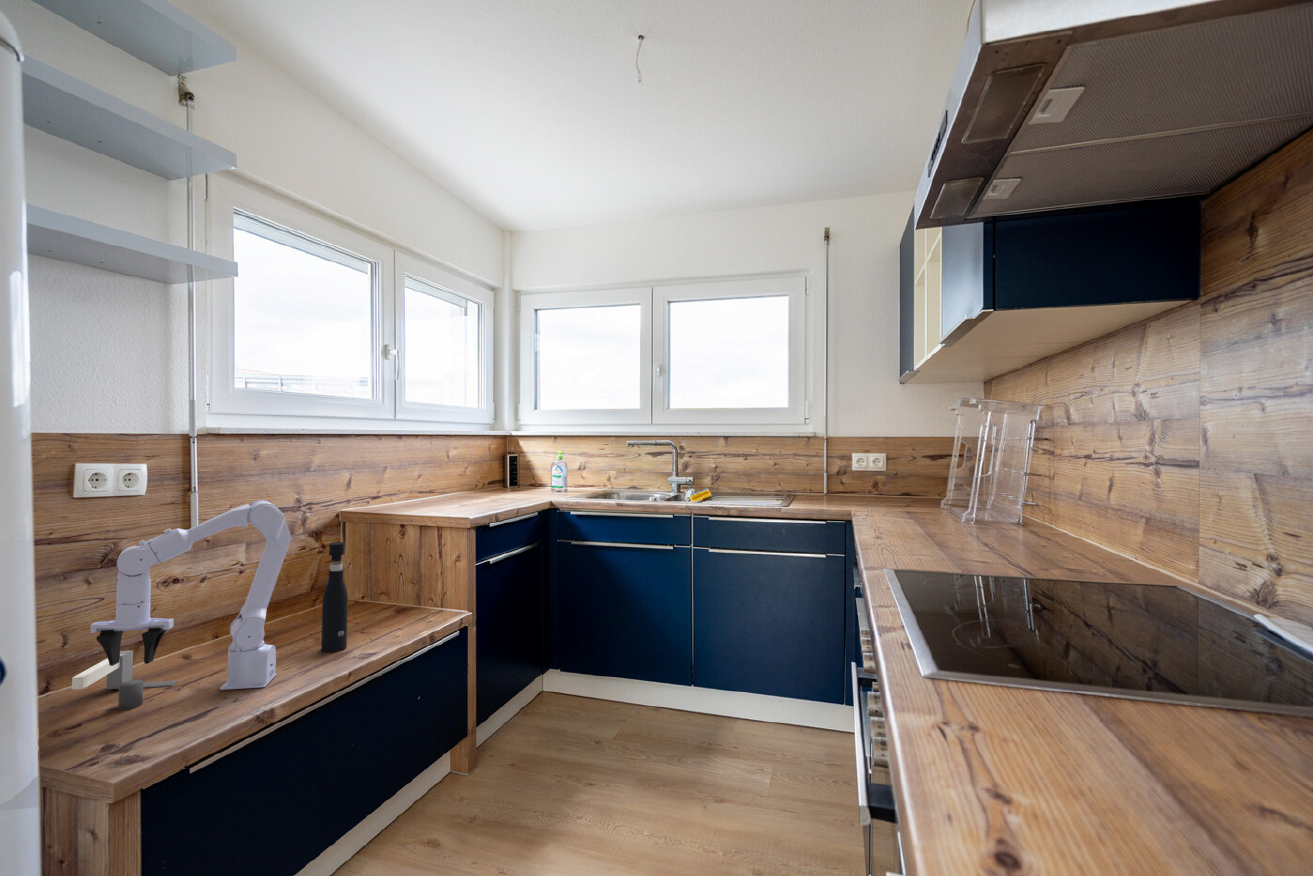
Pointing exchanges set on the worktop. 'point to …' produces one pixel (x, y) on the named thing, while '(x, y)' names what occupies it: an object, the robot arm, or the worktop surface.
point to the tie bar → (107, 672)
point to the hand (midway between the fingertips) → (131, 663)
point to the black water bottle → (335, 604)
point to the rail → (158, 684)
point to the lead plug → (130, 694)
